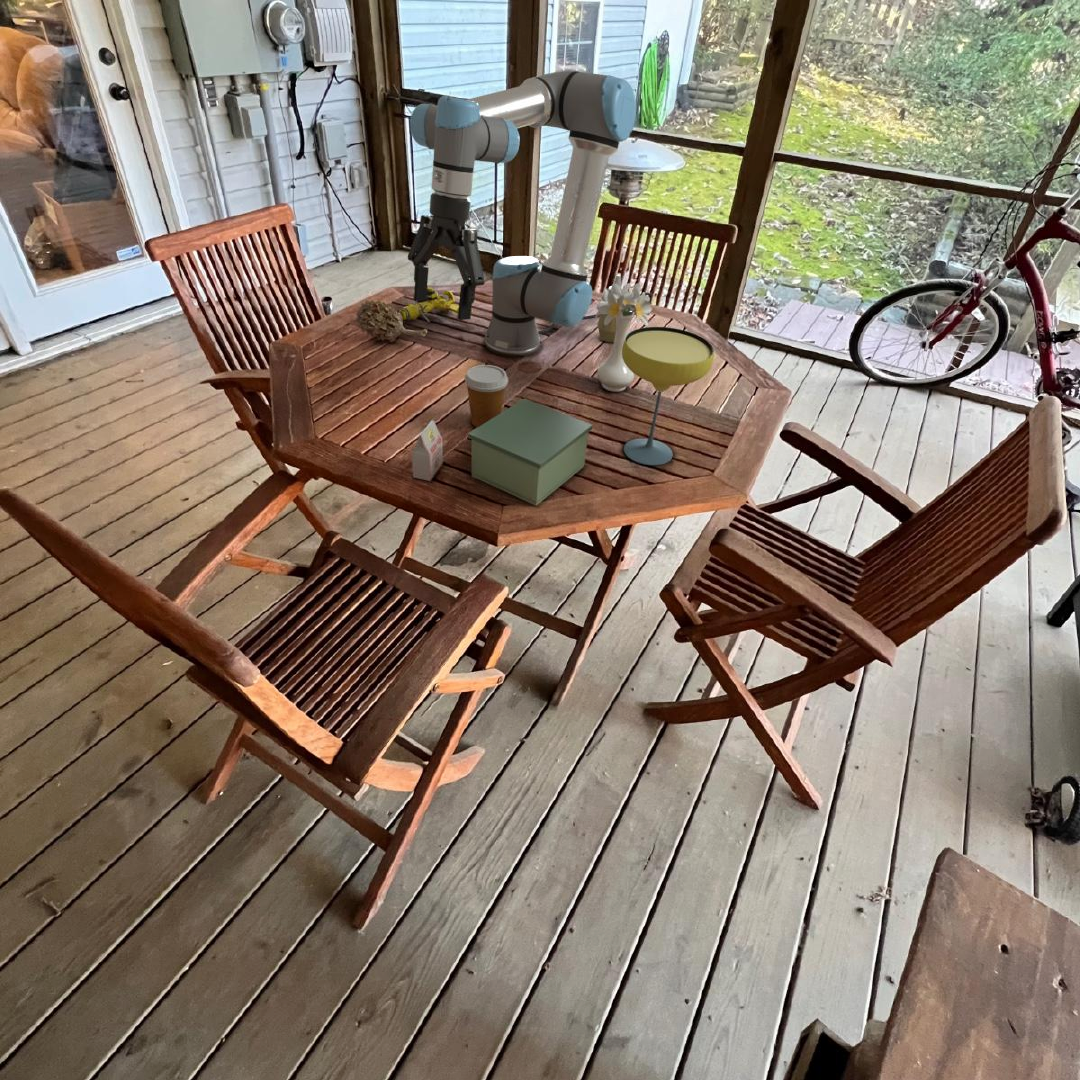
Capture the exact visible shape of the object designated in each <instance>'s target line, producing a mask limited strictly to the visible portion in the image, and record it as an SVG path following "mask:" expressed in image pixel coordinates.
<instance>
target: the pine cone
mask: <svg viewBox="0 0 1080 1080" xmlns="http://www.w3.org/2000/svg"><path fill="white" fill-rule="evenodd" d="M360 304H361V306H358V308H357V309H358V310H357V311H356V312H355V315H356V319H355V321H356V322H357V327H358V328H360V330H361V332H364V333H366V335H367V336H369V337H370V338H372V339H374V338H376V339H377V340H381V341H383V342H384V341H386V340H388V341H389V342H390V343H392V342H395V341H396V339H397V337H399V336H401V335H408V336H419V337H425V336H426V335H427V333H428V329H426V328H424V329H422V330H414V329H406V327H405V326H404V325H403V324H404V322H403V321H404V320H403V316H402V315H401V314H400V313H399V312H397V309H396V308H393V307H392V306H391V305H387V304H386V303H385V302H384V301H381V300H377V301H374V300H372V299H371V300H365V301H364V302H361V303H360Z"/></svg>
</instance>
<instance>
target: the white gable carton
mask: <svg viewBox="0 0 1080 1080" xmlns="http://www.w3.org/2000/svg"><path fill="white" fill-rule="evenodd" d="M443 451H444V449H443V437H442V435H441V433H440V431H439V429H438V427H437V424H436V422H435V419H432V420H431V421H429V423H428V424H427V425H426V427H425V428H424V429H423V430H422V431H421V433H420V434H419V435H418V439H417V441H416V443H415V445H414V447H413V449H412V450H411V462H412V463H411V464H412V478H416V479H420V480H425V481H429V482H431V481H432V480H433V478H434V477H435V475H436V474H437V473H438V471H439V470H440V468H441V467H442V466H443V464H444V456H443V454H444V453H443Z"/></svg>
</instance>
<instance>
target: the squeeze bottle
mask: <svg viewBox="0 0 1080 1080" xmlns="http://www.w3.org/2000/svg"><path fill="white" fill-rule="evenodd" d="M613 284H617V285H618V286H619V287H620V290H622V288H623V287H624V286H623V287H622V285H623V284H622V275H621V274H616V275H615V278H614V281H613ZM611 287H612V285H611V286H608V288H607V290H608V293H610V292H611V293H612V291H611ZM602 301H604V300H602ZM621 307H622V306H621ZM620 310H621V308H620ZM607 315H610V314H600V316H599V317H598V321H597V329H598V334H599V339H600V340H602V341H604V342H606V343H614V339H615V334H616V318H615V317H614V318H613V319H612V320H611V321H610V323H609V324H608V325H604V320H605V318H606V316H607Z"/></svg>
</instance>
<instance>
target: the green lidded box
mask: <svg viewBox="0 0 1080 1080" xmlns="http://www.w3.org/2000/svg"><path fill="white" fill-rule="evenodd" d="M593 426H594V425H593V424H592V423H589V422H586V421H583V420H581V419H579V418H576V417H574V416H571V415H568V414H567V413H563V412H560V411H558V410H556V409H552V408H551V407H548V406H545V405H542V404H541V403H537V402H535V401H533V400H530V399H527V398H522V399H521V400H519V401H518V402H516V403H515V404H513V405H511V406H510V407H508V408H507V409H505V410H504V411H501V413H500V414H499V415H497V416H495V417H494V418H492V419H491V420H489V421H487V422H486V423H484V424H483V425H481V426H479V427H476V428H475V429H473V430H472V431H469V432H468V433H467V438H468V439H470V440H471V477H472V478H475V479H477V480H479V481H482V482H484V483H486V484H488V485H490V486H492V487H494V488H497V489H498V490H501V491H503V492H505V493H508V494H510V495H512V496H514V497H516V498H518V499H520V500H523V501H525V502H527V503H529V504H531V505H534V506H536V507H537V506H538V505H539V504H540V503H542V502H543V501H544V500H545V499H546V498H548V497H549V496H550V495H551V494H552V493H554V492H555V491H556V490H557V489H558V488H560V487H562V486H563V484H565V483H566V482H567V481H569V479H570V478H572V477H573V476H575V474H577V473H578V472H579V471H581V469H583V468H584V467H585V463H586V454H587V447H588V440H589V439H588V438H589V432H591V431H592V430H593V428H594V427H593Z"/></svg>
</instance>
